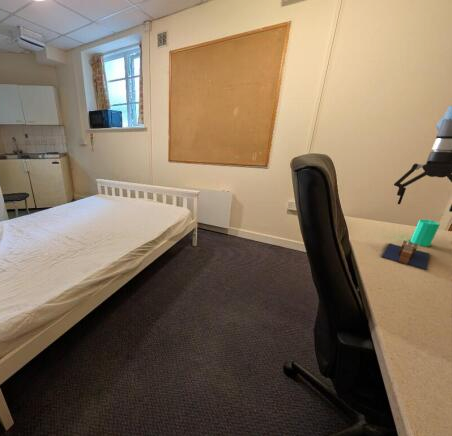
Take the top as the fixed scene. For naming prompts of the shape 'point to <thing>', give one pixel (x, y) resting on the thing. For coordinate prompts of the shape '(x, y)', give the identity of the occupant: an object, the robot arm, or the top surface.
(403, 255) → the brown rectangular bar
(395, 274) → the top surface
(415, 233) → the candle
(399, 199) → the robot arm
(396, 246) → the placemat
